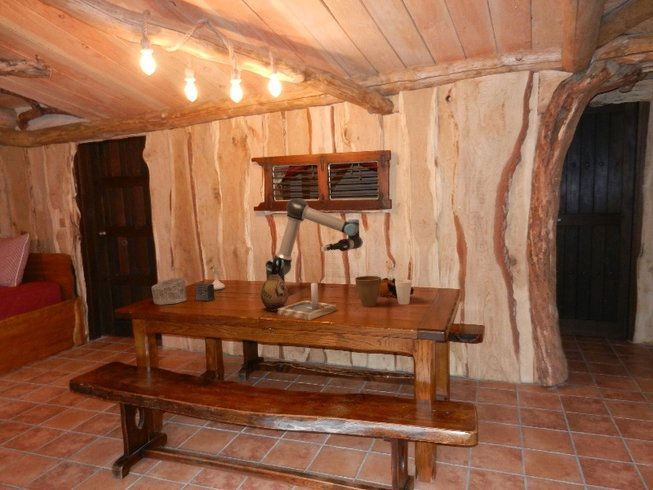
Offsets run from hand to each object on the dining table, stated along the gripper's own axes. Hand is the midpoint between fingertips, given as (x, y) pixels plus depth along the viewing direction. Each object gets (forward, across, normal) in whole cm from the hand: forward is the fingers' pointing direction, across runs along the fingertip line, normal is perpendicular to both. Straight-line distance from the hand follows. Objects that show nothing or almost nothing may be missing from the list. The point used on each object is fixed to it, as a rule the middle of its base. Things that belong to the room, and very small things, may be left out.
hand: (322, 249), depth 267 cm
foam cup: (-20, -43, -32) cm, 57 cm away
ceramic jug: (+27, +14, -32) cm, 45 cm away
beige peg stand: (+24, -7, -32) cm, 41 cm away
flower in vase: (+9, +91, -32) cm, 97 cm away
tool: (-29, -32, -32) cm, 54 cm away
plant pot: (-6, -28, -32) cm, 43 cm away
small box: (+34, +70, -32) cm, 84 cm away
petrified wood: (+49, +86, -32) cm, 104 cm away
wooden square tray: (+24, -7, -32) cm, 41 cm away
